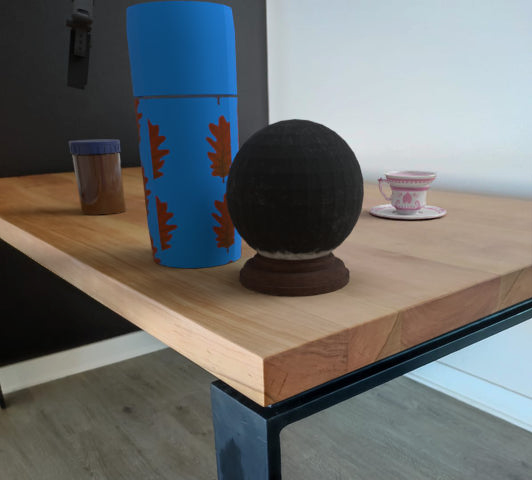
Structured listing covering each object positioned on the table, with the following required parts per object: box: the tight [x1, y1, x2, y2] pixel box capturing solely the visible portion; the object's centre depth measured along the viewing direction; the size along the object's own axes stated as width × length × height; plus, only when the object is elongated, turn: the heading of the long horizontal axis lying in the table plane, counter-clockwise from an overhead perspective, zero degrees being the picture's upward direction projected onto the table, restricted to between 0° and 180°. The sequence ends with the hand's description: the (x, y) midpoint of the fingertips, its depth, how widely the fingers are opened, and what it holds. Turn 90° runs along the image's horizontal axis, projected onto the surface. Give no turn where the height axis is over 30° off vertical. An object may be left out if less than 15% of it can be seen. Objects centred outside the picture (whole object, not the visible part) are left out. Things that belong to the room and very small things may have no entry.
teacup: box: [369, 170, 447, 220], centre depth 86 cm, size 12×12×6 cm
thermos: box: [125, 0, 243, 269], centre depth 59 cm, size 11×11×25 cm
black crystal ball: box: [226, 118, 365, 297], centre depth 52 cm, size 13×13×15 cm
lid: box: [68, 138, 122, 155], centre depth 90 cm, size 8×8×2 cm
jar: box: [72, 152, 127, 216], centre depth 92 cm, size 8×8×11 cm
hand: (76, 86), depth 84 cm, fingers open, 13 cm apart
